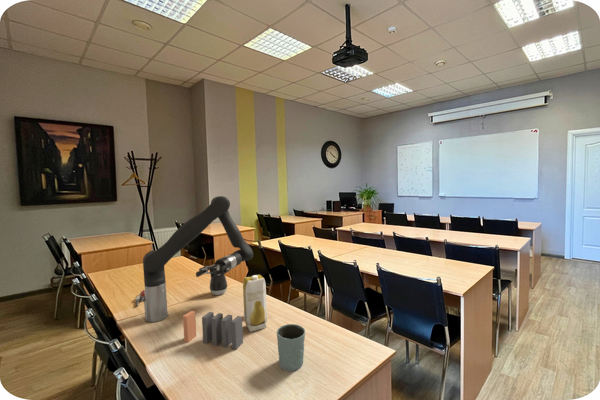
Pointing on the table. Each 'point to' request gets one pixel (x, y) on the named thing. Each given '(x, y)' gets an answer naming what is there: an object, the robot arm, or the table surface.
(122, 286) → the table surface
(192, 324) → the domino
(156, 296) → the robot arm
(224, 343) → the domino
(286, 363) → the grey green cup
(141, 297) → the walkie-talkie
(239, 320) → the domino
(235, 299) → the table surface
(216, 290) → the black rounded cone
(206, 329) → the domino
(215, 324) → the domino
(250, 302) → the juice carton
